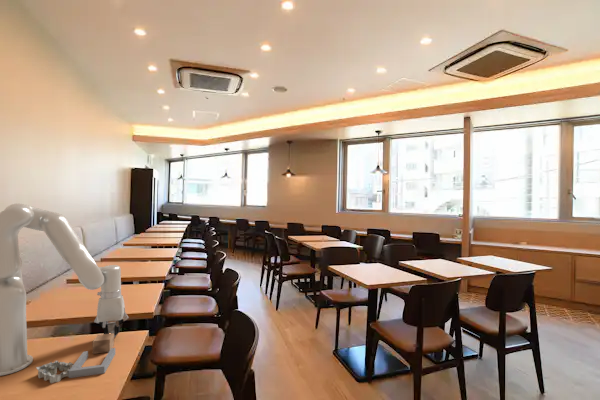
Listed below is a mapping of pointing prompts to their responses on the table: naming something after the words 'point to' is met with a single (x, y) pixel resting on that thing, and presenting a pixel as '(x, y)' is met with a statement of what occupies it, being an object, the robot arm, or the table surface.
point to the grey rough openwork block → (54, 371)
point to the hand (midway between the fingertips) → (111, 334)
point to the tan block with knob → (105, 340)
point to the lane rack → (90, 370)
